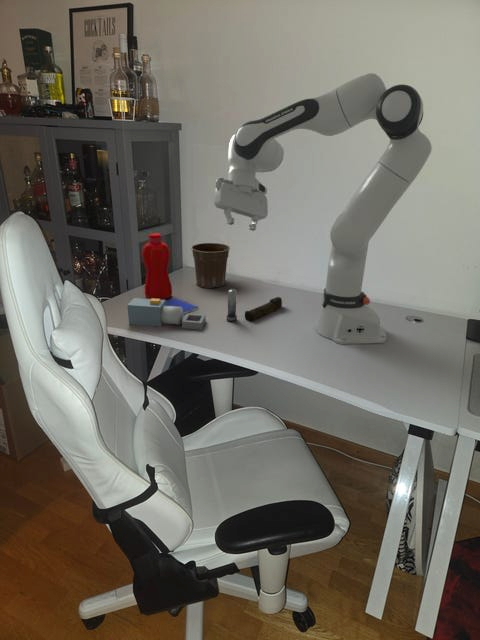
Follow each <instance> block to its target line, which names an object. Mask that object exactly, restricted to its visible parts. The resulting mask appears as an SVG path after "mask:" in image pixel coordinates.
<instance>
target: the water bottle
mask: <svg viewBox="0 0 480 640" xmlns="http://www.w3.org/2000/svg"><path fill="white" fill-rule="evenodd" d="M170 253H171V252H170V248H169V246H168V245H167V243H165V242H163V241H162V234H161V233H158V232H154V233H151V234H148V242H147V243H145V245H143V247H142V251H141V257H142V263H143V266H144V267H145V269H146V275H145V276H146V277H145V285H144V295H145V299H152V298H153V299H160V300H165V301H166V299H169V298H171V297H172V295H173V289H172V282H171V279H170V276H169V273H168V272H169V270H168V269H169V268H168V267H169V263H170V257H171V256H170V255H171V254H170Z"/></svg>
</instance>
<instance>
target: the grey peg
mask: <svg viewBox="0 0 480 640" xmlns="http://www.w3.org/2000/svg"><path fill="white" fill-rule="evenodd" d="M226 321H227V322H228V323H237V321H238V315H237V289H235V288H230V289H229V288H228V290H227V315H226Z"/></svg>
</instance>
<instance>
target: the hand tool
mask: <svg viewBox="0 0 480 640" xmlns="http://www.w3.org/2000/svg"><path fill="white" fill-rule="evenodd" d="M282 305H283V300H282V297H280V296H276V297H275V298H271V299H269V302H267V303H265V304H263V305H260V306H257V307H255V308H253V309H251V310H245V311H244V319H245V320H246V321H248V322H251V323H252V322H253V321H256V319H259V318H261V317H263V316H266V315H267V314H269V313H271V312H277V311H279V310H281V308H282Z"/></svg>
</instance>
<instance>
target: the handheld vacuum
mask: <svg viewBox="0 0 480 640" xmlns="http://www.w3.org/2000/svg"><path fill="white" fill-rule="evenodd" d="M166 301H167V300H166V299H165V300H160V299H153V298H152V299H148V298H139V297H137V298H136V297H133V299H132V300H130V302H128V303H127V306H126V307H127V314H128V324H129V325H133V326H148V327H149V326H150V327H162V326H163V324H164V325H165V324H166V325H176V326H177V325H179V326H181V329H184V330H186V329H188V330H200V331H201V330H203V328H204V326H205V323H206V320H207V319H206V314H198V313H186V314H184V315H185V316H184V315H183V309H182V307H176V306H166Z"/></svg>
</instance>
